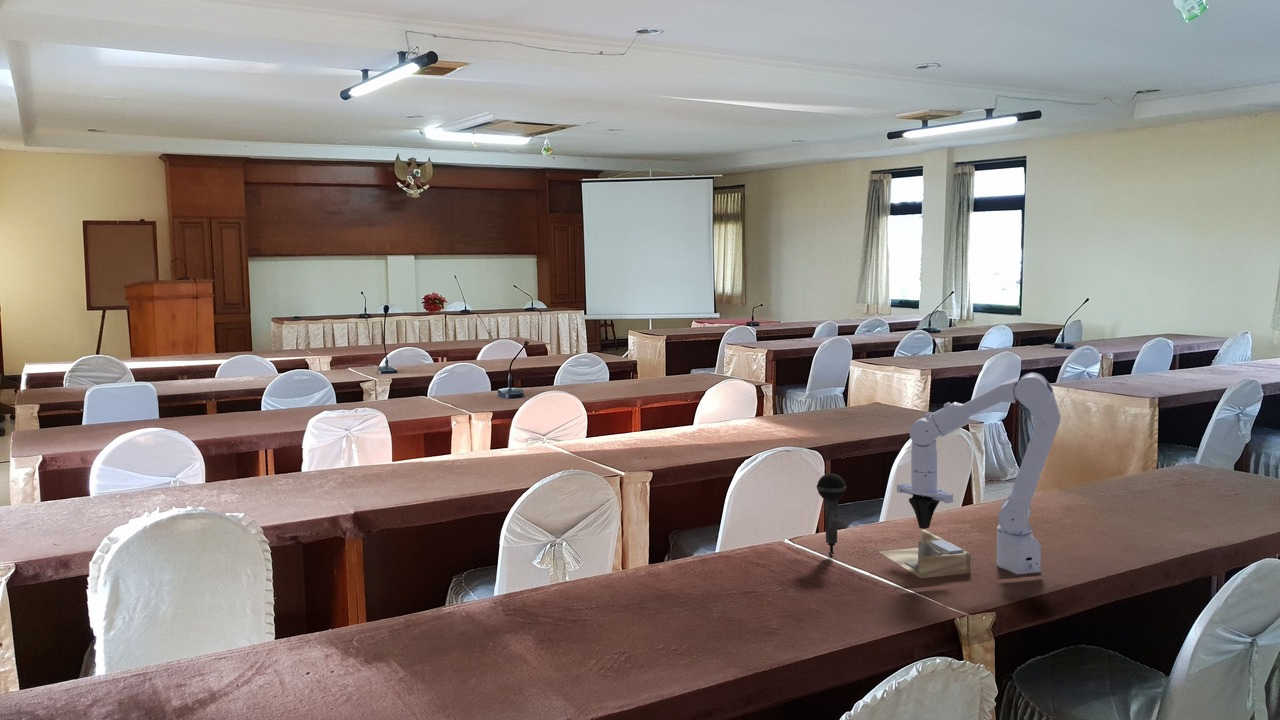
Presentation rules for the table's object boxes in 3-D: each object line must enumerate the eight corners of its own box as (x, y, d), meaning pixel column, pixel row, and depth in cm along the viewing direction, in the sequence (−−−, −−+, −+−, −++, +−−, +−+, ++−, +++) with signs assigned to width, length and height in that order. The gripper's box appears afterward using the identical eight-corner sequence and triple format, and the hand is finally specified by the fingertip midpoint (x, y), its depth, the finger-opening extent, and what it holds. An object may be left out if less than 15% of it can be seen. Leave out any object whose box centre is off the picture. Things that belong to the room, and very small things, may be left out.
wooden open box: (970, 576, 208) (970, 551, 207) (920, 581, 205) (920, 556, 205) (924, 550, 227) (924, 527, 227) (878, 554, 225) (878, 531, 224)
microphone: (813, 558, 223) (812, 475, 221) (821, 550, 229) (821, 469, 227) (841, 562, 220) (841, 477, 218) (849, 554, 226) (849, 471, 224)
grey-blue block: (963, 571, 209) (963, 549, 208) (949, 573, 208) (949, 551, 207) (942, 561, 216) (942, 539, 216) (928, 562, 215) (928, 541, 215)
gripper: (961, 472, 215) (961, 531, 216) (910, 463, 227) (910, 518, 228) (941, 477, 211) (941, 536, 212) (890, 467, 223) (890, 523, 224)
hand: (924, 527), depth 220 cm, fingers closed
